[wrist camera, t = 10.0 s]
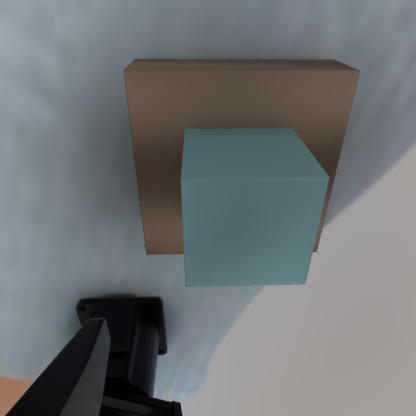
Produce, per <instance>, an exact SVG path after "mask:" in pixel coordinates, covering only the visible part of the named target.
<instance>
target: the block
mask: <svg viewBox="0 0 416 416" xmlns="http://www.w3.org/2000/svg"><path fill="white" fill-rule="evenodd" d="M329 178H330V177H329V176H328V174H327V173H326V172H325V171H324V169H323V168H322V167H321V165H320V164H319V163H318V161H317V160H316V159H315V157H314V156H313V155H312V153H311V152H310V151H309V149H308V148H307V147H306V145H305V144H304V143H303V141H302V140H301V139H300V137H299V136H298V135H297V133H296V132H295V131H294V129H293V128H245V129H185V135H184V147H183V159H182V170H181V195H182V218H183V241H184V264H185V287H187V286H240V285H287V284H288V285H291V284H292V285H293V284H305V283H306V279H307V274H308V270H309V266H310V261H311V257H312V252H313V248H314V244H315V239H316V235H317V230H318V226H319V222H320V217H321V213H322V209H323V204H324V200H325V195H326V191H327V187H328V182H329Z"/></svg>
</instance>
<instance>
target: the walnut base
mask: <svg viewBox="0 0 416 416" xmlns="http://www.w3.org/2000/svg"><path fill="white" fill-rule="evenodd" d="M359 72H360V71H359V70H357V69H354V68H352V67H350V66H347V65H345V64H343V63H340V62H338V61H336V60H141V59H135V60H134V61H133V62H132V63H131V64H130V65H129V66H128V67H127V68H126V69H125V70H124V77H125V85H126V93H127V102H128V110H129V118H130V126H131V134H132V142H133V151H134V159H135V167H136V175H137V183H138V191H139V200H140V208H141V216H142V224H143V232H144V240H145V248H146V255H149V254H184V241H183V218H182V195H181V170H182V159H183V147H184V135H185V129H245V128H293V129H294V131H295V132H296V133H297V135H298V136H299V137H300V139H301V140H302V141H303V143H304V144H305V145H306V147H307V148H308V149H309V151H310V152H311V153H312V155H313V156H314V157H315V159H316V160H317V161H318V163H319V164H320V165H321V167H322V168H323V169H324V171H325V172H326V173H327V174H328V176H329V177H330V178H329V182H328V187H327V191H326V195H325V200H324V204H323V209H322V213H321V217H320V222H319V226H318V230H317V235H316V239H315V244H314V248H313V252H317V248H318V244H319V240H320V236H321V232H322V227H323V223H324V219H325V215H326V211H327V206H328V202H329V198H330V194H331V190H332V185H333V181H334V177H335V173H336V169H337V164H338V160H339V156H340V152H341V147H342V143H343V139H344V135H345V131H346V126H347V122H348V118H349V114H350V110H351V105H352V101H353V97H354V93H355V89H356V84H357V80H358V76H359Z"/></svg>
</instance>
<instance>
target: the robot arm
mask: <svg viewBox="0 0 416 416" xmlns="http://www.w3.org/2000/svg"><path fill="white" fill-rule="evenodd" d="M83 306H84V307H83ZM76 310H77V313H78V316H79V320H80V323H81V326H82V327H81V329H80V330H79V331H78V332H77V333H76V334H75V336H74V337H73V338H72V339H71V340H70V341H69V342H68V344H67V345H66V346H65V347H64V348H63V349H62V351H61V352H60V353H59V354H58V355H57V356H56V357H55V359H54V360H53V361H52V362H51V363H50V364H49V366H48V367H47V368H46V369H45V370H44V371H43V373H42V374H41V375H40V376H39V377H38V378H37V379H36V381H35V382H34V383H33V384H32V385H31V386H30V388H29V389H28V390H27V391H26V392H25V393H24V395H23V396H22V397H21V398H20V399H19V400H18V401H17V403H16V404H15V405H14V406H13V407H12V408H11V410H10V411H9V412H8V413H7V414H6V415H5V416H182V411H181V404H180V402H175V401H172V402H169V401H165V400H161V399H157V398H153V392H154V383H155V374H156V365H157V355H164V354H166V353H167V339H166V329H165V318H164V308H163V302H162V300H160V299H107V300H80V301H79V302H78V304H77V306H76Z"/></svg>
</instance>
